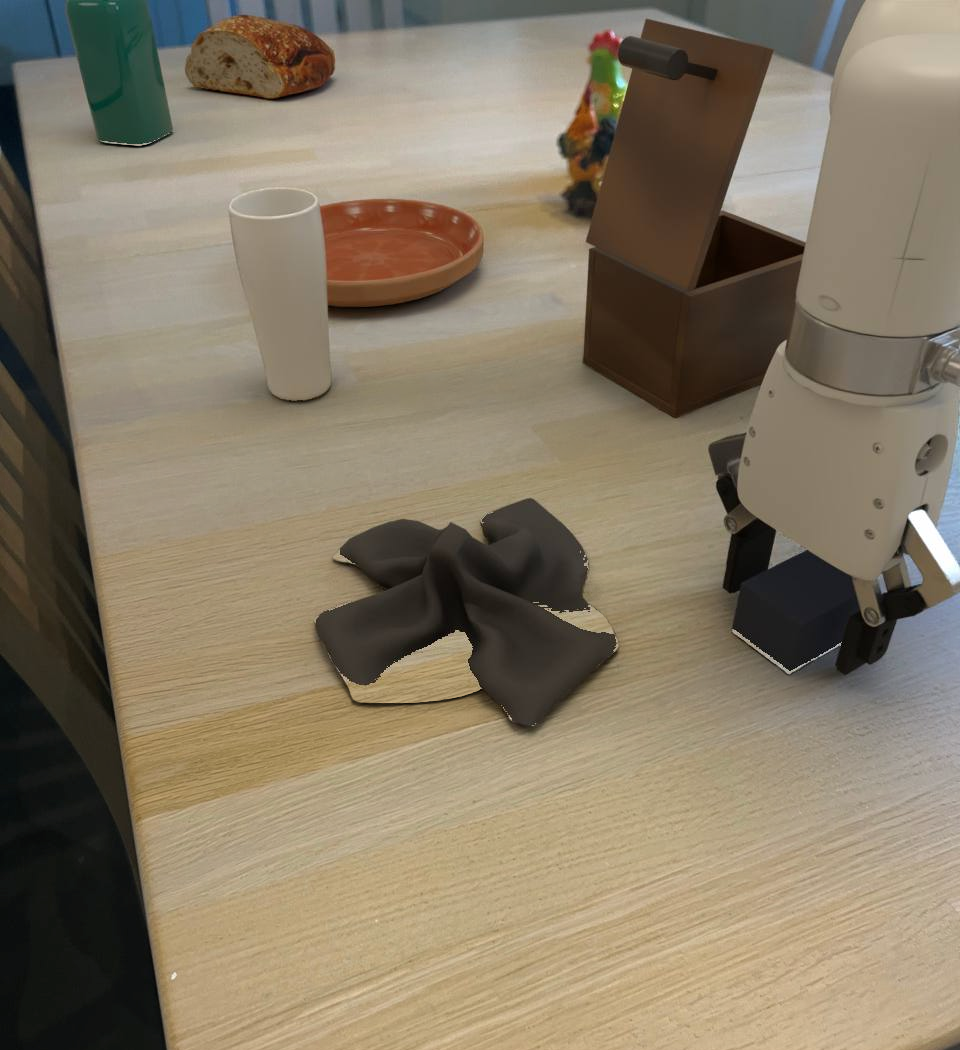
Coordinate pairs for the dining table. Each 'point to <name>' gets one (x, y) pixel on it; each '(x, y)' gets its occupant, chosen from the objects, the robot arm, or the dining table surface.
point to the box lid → (675, 147)
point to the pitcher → (120, 69)
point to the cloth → (473, 605)
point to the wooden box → (694, 318)
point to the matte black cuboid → (796, 609)
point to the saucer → (396, 250)
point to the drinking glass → (285, 286)
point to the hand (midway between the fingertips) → (798, 620)
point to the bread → (259, 58)
